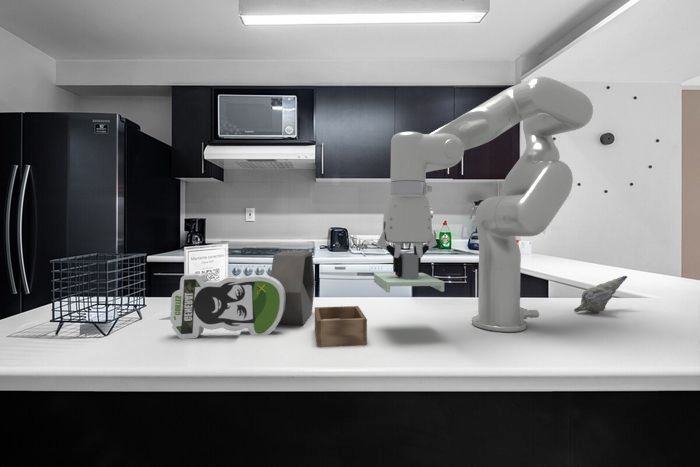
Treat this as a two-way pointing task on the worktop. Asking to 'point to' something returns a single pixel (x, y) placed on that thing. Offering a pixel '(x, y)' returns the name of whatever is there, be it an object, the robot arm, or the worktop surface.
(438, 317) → the worktop surface
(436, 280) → the lid
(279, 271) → the planter
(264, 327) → the cutout
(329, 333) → the wooden box
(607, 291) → the seashell
